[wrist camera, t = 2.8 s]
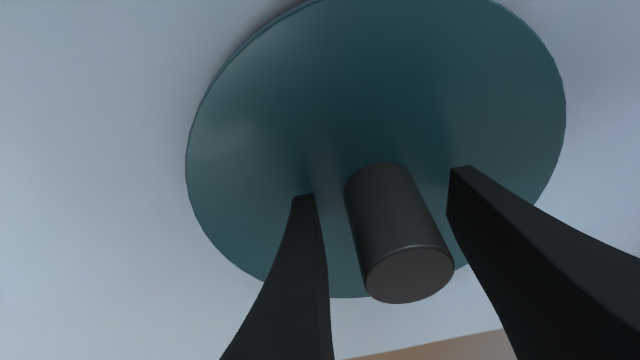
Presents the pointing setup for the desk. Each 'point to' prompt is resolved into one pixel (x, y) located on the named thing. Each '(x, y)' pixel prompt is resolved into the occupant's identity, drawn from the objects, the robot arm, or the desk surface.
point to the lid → (372, 134)
